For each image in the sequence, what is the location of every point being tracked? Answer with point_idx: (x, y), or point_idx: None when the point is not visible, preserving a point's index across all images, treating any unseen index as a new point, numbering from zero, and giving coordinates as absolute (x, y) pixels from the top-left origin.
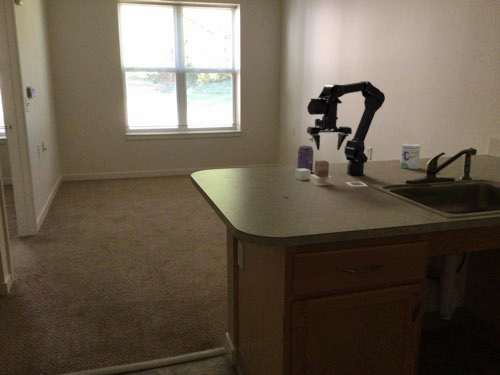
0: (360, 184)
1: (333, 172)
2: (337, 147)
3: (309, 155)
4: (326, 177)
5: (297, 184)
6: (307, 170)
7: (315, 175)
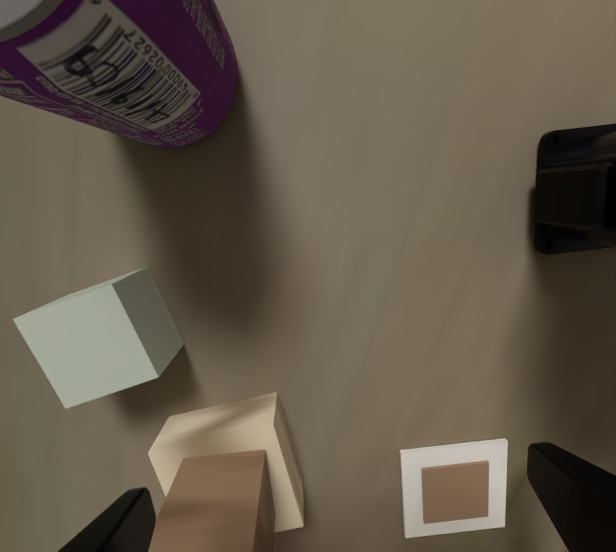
0: (469, 515)
1: (436, 96)
2: (560, 481)
3: (109, 105)
4: None
5: (80, 485)
6: (128, 379)
7: None
